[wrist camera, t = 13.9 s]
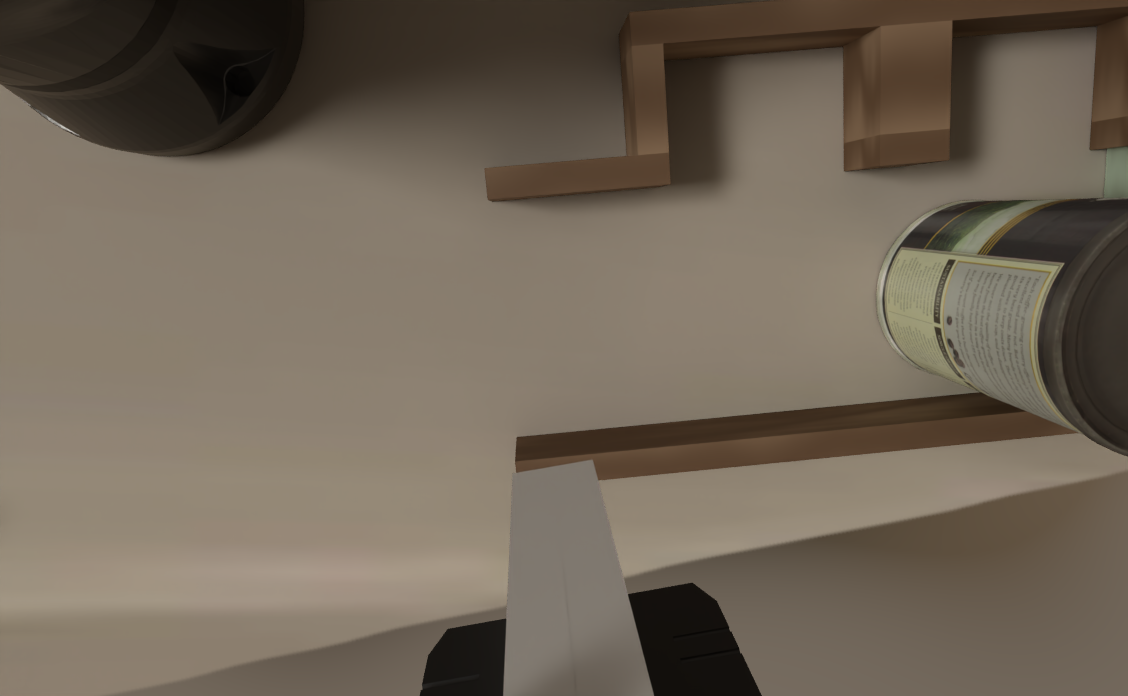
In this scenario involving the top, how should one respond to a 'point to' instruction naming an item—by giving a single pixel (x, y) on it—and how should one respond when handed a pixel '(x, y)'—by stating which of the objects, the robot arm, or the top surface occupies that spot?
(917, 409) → the wooden compartment tray
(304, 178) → the top surface
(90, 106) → the robot arm
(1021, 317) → the coffee can
